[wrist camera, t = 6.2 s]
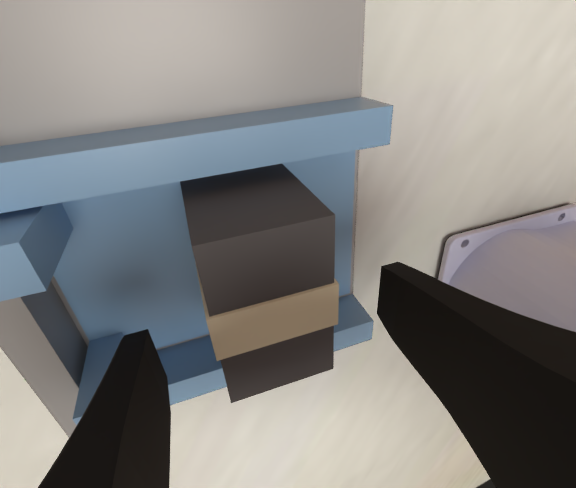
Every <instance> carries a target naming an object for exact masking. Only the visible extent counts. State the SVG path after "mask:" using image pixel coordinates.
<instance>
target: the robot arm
mask: <svg viewBox="0 0 576 488" xmlns="http://www.w3.org/2000/svg"><path fill="white" fill-rule="evenodd" d="M377 314H378V316H379V318H380V320H381V321H382V323H383V325H384V327H385V328H386V330H387V332H388V333H389V335H390V336H391V338H392V340H393V341H394V342H395V344H396V345H397V346H398V347H399V349H400V350H401V351H402V353H403V354H404V355H405V356H406V358H407V359H408V360H409V362H410V363H411V364H412V365H413V367H414V368H415V369H416V370H417V372H418V373H419V374H420V375H421V377H422V378H423V379H424V380H425V382H426V383H427V384H428V385H429V387H430V388H431V389H432V390H433V392H434V393H435V394H436V396H437V397H438V398H439V399H440V401H441V402H442V404H443V405H444V406H445V408H446V409H447V410H448V412H449V413H450V415H451V416H452V418H453V419H454V421H455V422H456V424H457V426H458V427H459V429H460V430H461V432H462V433H463V435H464V436H465V438H466V439H467V441H468V442H469V444H470V446H471V447H472V449H473V451H474V452H475V454H476V455H477V457H478V459H479V460H480V462H481V464H482V465H483V467H484V468H485V470H486V472H487V473H488V475H489V477H490V478H491V480H492V482H493V484H494V485H495V487H496V488H576V205H575V204H569V205H565V206H562V207H558V208H554V209H550V210H546V211H543V212H539V213H535V214H531V215H528V216H524V217H520V218H516V219H512V220H509V221H505V222H501V223H497V224H493V225H490V226H486V227H482V228H478V229H474V230H471V231H467V232H463V233H459V234H455V235H453V236H451V237H450V238H448V240H447V241H446V244H445V248H444V253H443V257H442V262H441V267H440V272H439V276H438V279H435V278H433V277H431V276H429V275H427V274H425V273H423V272H420V271H418V270H416V269H414V268H412V267H409V266H407V265H405V264H402V263H400V262H396V263H392V264H388V265H385V266H381V277H380V287H379V298H378V308H377ZM170 425H171V411H170V399H169V389H168V379H167V375H166V373H165V370H164V368H163V365H162V363H161V360H160V358H159V355H158V353H157V350H156V348H155V345H154V343H153V340H152V338H151V335H150V333H149V330H148V329H146V330H142V331H139V332H135V333H131V334H127V335H124V336H123V338H122V339H121V341H120V343H119V345H118V348H117V350H116V352H115V354H114V356H113V358H112V360H111V362H110V364H109V366H108V368H107V370H106V372H105V374H104V376H103V378H102V380H101V382H100V384H99V386H98V388H97V390H96V392H95V394H94V395H93V397H92V399H91V401H90V403H89V405H88V407H87V408H86V410H85V412H84V414H83V416H82V417H81V419H80V421H79V423H78V424H77V426H76V428H75V429H74V431H73V433H72V434H71V436H70V438H69V439H68V441H67V443H66V444H65V446H64V448H63V449H62V451H61V453H60V454H59V456H58V458H57V459H56V461H55V462H54V464H53V465H52V467H51V469H50V470H49V472H48V473H47V475H46V476H45V478H44V479H43V481H42V482H41V484H40V485H39V487H38V488H169V471H170Z"/></svg>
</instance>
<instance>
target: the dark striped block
mask: <svg viewBox="0 0 576 488" xmlns="http://www.w3.org/2000/svg"><path fill="white" fill-rule="evenodd" d="M180 185H181V190H182V196H183V202H184V207H185V213H186V218H187V224H188V229H189V235H190V240H191V246H192V250H193V254H194V258H195V263H196V268H197V274H198V279H199V285H200V290H201V296H202V301H203V306H204V312H205V317H206V322H207V326H208V330H209V333H210V337H211V341H212V345H213V349H214V352H215V356H216V360H217V361H219V360H220V361H221V364H222V368H223V372H224V376H225V380H226V384H227V388H228V392H229V396H230V400H231V403H233V402H236V401H239V400H242V399H245V398H248V397H251V396H253V395H256V394H259V393H262V392H265V391H268V390H271V389H274V388H277V387H280V386H283V385H286V384H289V383H292V382H295V381H298V380H301V379H304V378H307V377H310V376H313V375H316V374H319V373H322V372H325V371H328V370H330V369H333V352H334V325H337V324H338V310H339V283H338V282H337V281H336V279H335V278H334V274H335V214H334V213H333V212H332V211H331V210H330V209H329V208H328V207H327V206H326V205H324V204H323V203H322V202H321V201H320V200H319V199H318V198H317V197H316V196H315V195H314V194H313V193H312V192H311V191H310V190H309V189H308V188H307V187H306V186H305V185H304V184H303V183H302V182H301V181H300V180H299V179H298V178H296V177H295V176H294V175H293V174H292V173H291V172H290V171H289V170H288V169H287V168H286V167H285V166H284V165H283V164H282V163H281V164H276V165H270V166H264V167H259V168H253V169H247V170H242V171H236V172H231V173H225V174H219V175H214V176H208V177H202V178H197V179H191V180H186V181H180Z"/></svg>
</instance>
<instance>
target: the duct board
mask: <svg viewBox="0 0 576 488" xmlns="http://www.w3.org/2000/svg"><path fill="white" fill-rule="evenodd" d="M364 21H365V0H0V347H1V349H2V350H3V351H4V353H5V354H6V355H7V356H8V358H9V359H10V360H11V362H12V363H13V364H14V366H15V367H16V368H17V370H18V371H19V372H20V374H21V375H22V376H23V378H24V379H25V380H26V381H27V383H28V384H29V385H30V387H31V388H32V389H33V391H34V392H35V393H36V395H37V396H38V397H39V399H40V400H41V401H42V403H43V404H44V405H45V406H46V408H47V409H48V410H49V412H50V413H51V414H52V416H53V417H54V418H55V420H56V421H57V422H58V424H59V425H60V426H61V428H62V429H63V430H64V432H65V433H66V434H67V435H68V437H69V438H70V436H71V434H72V433H73V431H74V429H75V428H76V426H77V424H78V423H79V421H80V419H81V417H82V416H83V414H84V412H85V410H86V408H87V407H88V405H89V403H90V401H91V399H92V397H93V395H94V394H95V392H96V390H97V388H98V386H99V384H100V382H101V380H102V378H103V376H104V374H105V372H106V370H107V368H108V366H109V364H110V362H111V360H112V358H113V356H114V354H115V352H116V350H117V348H118V345H119V343H120V341H121V339H122V338H123V336H124V335H127V334H131V333H135V332H139V331H142V330H146V329H148V330H149V333H150V335H151V338H152V340H153V343H154V345H155V348H156V350H157V353H158V355H159V358H160V360H161V363H162V365H163V368H164V370H165V373H166V375H167V379H168V389H169V399H170V405H173V404H176V403H179V402H182V401H185V400H188V399H191V398H194V397H197V396H200V395H203V394H206V393H209V392H212V391H215V390H218V389H221V388H224V387H227V384H226V380H225V376H224V372H223V368H222V364H221V361H220V360H219V361H217V360H216V356H215V352H214V349H213V345H212V341H211V337H210V333H209V330H208V326H207V322H206V317H205V312H204V306H203V301H202V296H201V290H200V285H199V279H198V274H197V268H196V263H195V258H194V254H193V250H192V246H191V240H190V235H189V229H188V224H187V218H186V213H185V207H184V202H183V196H182V190H181V185H180V181H186V180H191V179H197V178H202V177H208V176H214V175H219V174H225V173H231V172H236V171H242V170H247V169H253V168H259V167H264V166H270V165H276V164H281V163H282V164H283V165H284V166H285V167H286V168H287V169H288V170H289V171H290V172H291V173H292V174H293V175H294V176H295V177H296V178H298V179H299V180H300V181H301V182H302V183H303V184H304V185H305V186H306V187H307V188H308V189H309V190H310V191H311V192H312V193H313V194H314V195H315V196H316V197H317V198H318V199H319V200H320V201H321V202H322V203H323V204H324V205H326V206H327V207H328V208H329V209H330V210H331V211H332V212H333V213H334V214H335V274H334V278H335V279H336V281H337V282H338V283H339V310H338V324H337V325H334V351H337V350H340V349H343V348H346V347H349V346H352V345H355V344H358V343H361V342H364V341H367V340H370V339H372V330H373V320H372V318H371V317H370V316H369V314H368V313H367V312H366V311H365V309H364V308H363V307H362V305H361V304H360V303H359V302H358V300H357V299H356V298H355V297H354V295H353V271H354V248H355V225H356V203H357V180H358V157H359V150H360V149H366V148H371V147H377V146H383V145H388V144H390V134H391V123H392V112H393V105H390V104H386V103H382V102H379V101H375V100H371V99H368V98H364V97H361V89H362V66H363V43H364Z"/></svg>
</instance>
